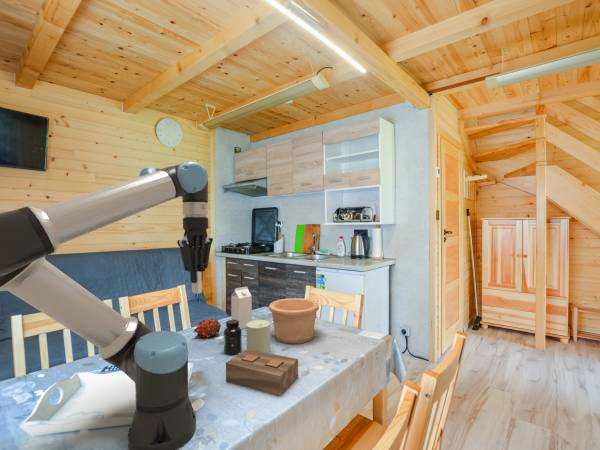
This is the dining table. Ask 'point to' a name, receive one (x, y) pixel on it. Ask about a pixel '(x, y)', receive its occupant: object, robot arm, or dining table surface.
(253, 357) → the left pin
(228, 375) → the socket block
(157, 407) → the robot arm
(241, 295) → the milk carton
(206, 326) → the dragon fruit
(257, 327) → the can
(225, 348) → the supplement bottle
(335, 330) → the dining table surface
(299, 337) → the pottery
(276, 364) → the right pin
